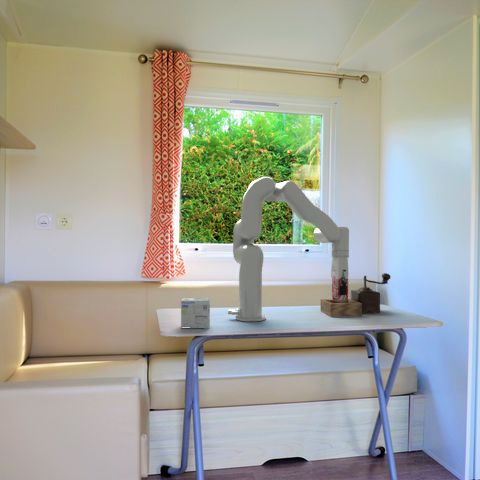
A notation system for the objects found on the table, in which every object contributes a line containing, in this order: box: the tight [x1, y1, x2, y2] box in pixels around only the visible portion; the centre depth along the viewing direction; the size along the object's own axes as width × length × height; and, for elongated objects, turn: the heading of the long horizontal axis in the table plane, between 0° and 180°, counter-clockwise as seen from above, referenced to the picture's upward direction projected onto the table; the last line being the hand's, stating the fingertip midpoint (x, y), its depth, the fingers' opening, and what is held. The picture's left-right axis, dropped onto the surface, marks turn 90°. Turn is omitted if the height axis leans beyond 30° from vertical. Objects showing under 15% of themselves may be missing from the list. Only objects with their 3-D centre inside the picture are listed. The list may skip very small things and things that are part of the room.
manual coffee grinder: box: [350, 272, 391, 314], centre depth 192 cm, size 16×11×18 cm
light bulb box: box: [180, 297, 211, 329], centre depth 158 cm, size 11×7×11 cm, turn 93°
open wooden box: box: [320, 298, 363, 318], centre depth 187 cm, size 14×14×6 cm
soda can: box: [331, 276, 349, 302], centre depth 187 cm, size 7×7×12 cm
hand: (340, 293), depth 186 cm, fingers closed on soda can, 6 cm apart
